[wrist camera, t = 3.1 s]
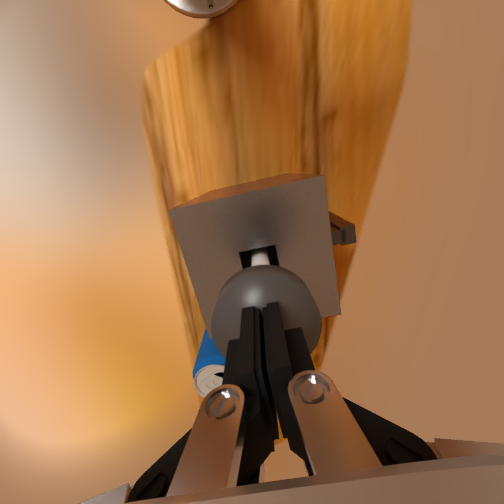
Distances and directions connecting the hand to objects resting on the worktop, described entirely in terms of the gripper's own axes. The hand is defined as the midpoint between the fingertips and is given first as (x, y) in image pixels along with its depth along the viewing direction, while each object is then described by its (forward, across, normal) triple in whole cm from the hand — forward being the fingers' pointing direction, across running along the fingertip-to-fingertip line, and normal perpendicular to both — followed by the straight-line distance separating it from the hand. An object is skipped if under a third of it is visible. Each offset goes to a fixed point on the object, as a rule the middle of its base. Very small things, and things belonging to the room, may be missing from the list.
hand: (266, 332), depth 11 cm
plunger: (+19, 0, 0) cm, 19 cm away
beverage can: (+27, +9, +17) cm, 33 cm away
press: (+27, -1, 0) cm, 27 cm away
